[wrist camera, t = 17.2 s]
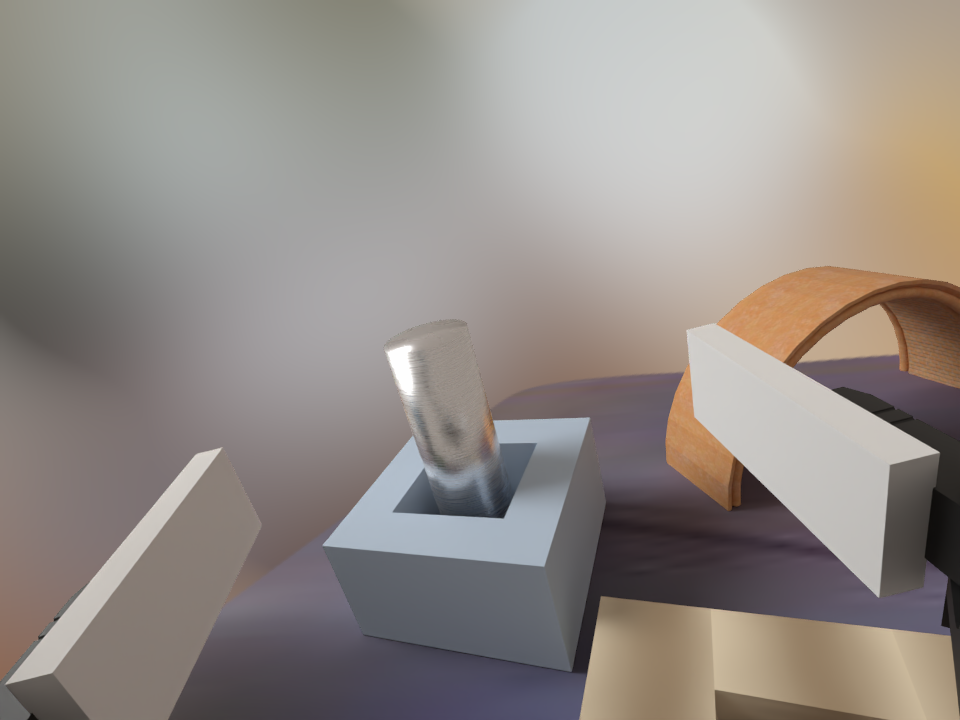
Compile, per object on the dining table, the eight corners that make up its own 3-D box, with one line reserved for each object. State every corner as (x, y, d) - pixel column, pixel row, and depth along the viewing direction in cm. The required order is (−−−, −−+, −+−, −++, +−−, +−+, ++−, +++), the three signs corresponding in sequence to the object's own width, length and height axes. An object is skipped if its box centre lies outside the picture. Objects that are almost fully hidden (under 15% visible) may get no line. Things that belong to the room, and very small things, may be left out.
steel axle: (449, 588, 28) (367, 357, 23) (475, 535, 31) (408, 324, 26) (518, 596, 26) (446, 349, 21) (537, 540, 29) (479, 315, 24)
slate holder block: (363, 634, 26) (322, 545, 24) (447, 496, 35) (423, 422, 33) (571, 672, 22) (544, 566, 19) (606, 502, 31) (590, 417, 29)
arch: (1006, 395, 31) (1030, 234, 27) (727, 513, 28) (713, 349, 24) (908, 366, 36) (917, 228, 33) (665, 462, 33) (646, 321, 30)
